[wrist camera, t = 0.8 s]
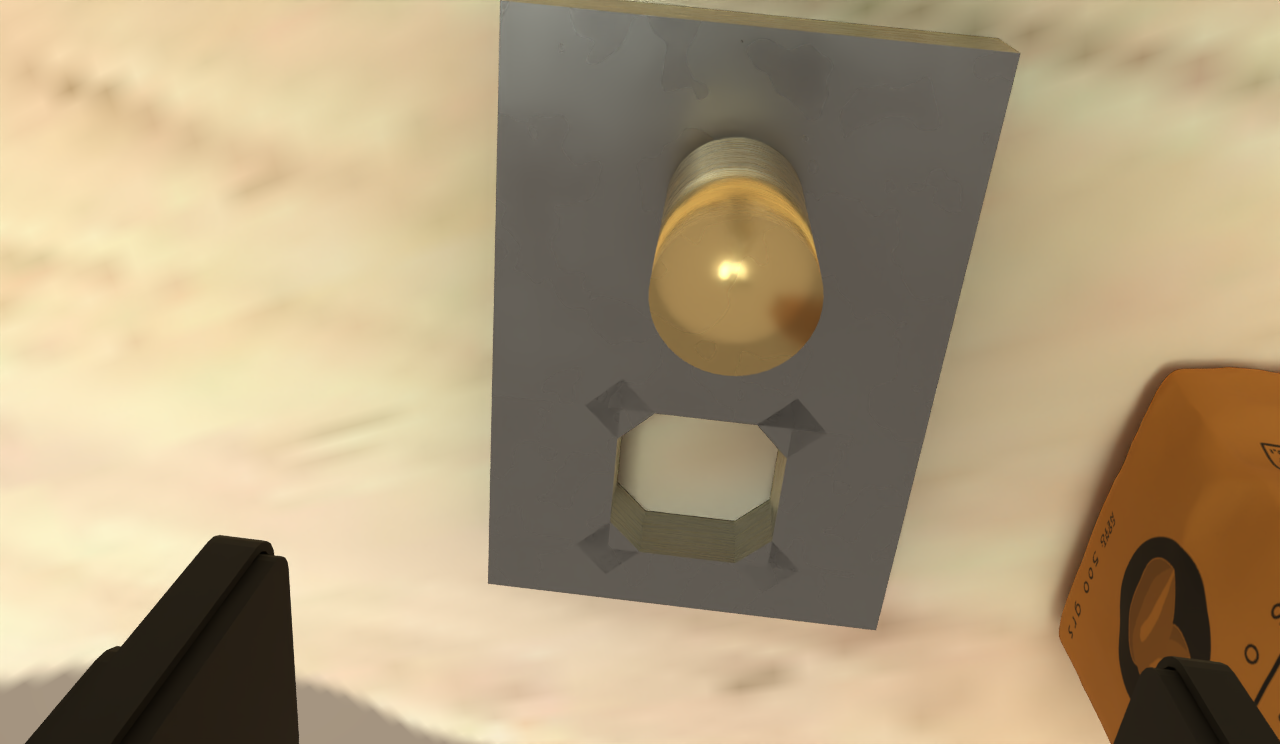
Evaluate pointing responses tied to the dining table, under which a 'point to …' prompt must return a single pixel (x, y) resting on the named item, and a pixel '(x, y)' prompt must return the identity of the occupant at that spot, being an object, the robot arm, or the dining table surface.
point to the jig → (621, 271)
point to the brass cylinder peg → (735, 260)
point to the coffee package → (1186, 545)
